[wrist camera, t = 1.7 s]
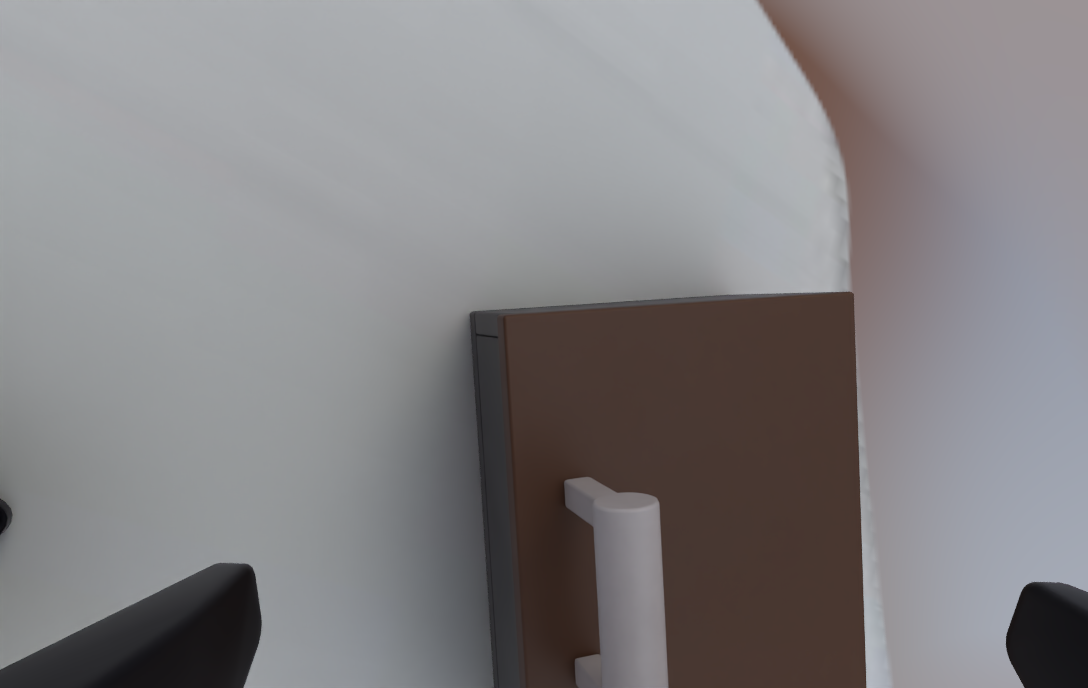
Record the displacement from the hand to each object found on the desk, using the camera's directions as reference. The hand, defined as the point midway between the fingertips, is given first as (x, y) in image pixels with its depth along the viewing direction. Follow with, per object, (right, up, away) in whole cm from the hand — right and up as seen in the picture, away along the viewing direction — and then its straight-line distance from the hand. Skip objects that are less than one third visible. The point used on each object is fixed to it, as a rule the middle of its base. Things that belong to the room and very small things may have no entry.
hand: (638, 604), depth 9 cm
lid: (+3, -3, +12) cm, 13 cm away
